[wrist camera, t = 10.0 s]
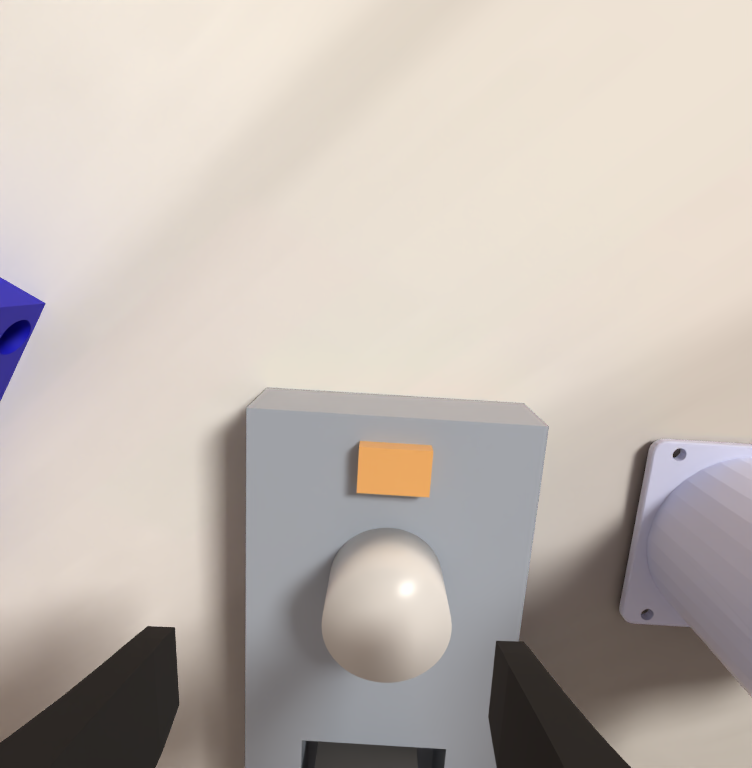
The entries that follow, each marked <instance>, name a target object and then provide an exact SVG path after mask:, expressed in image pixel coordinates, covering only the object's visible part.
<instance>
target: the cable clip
mask: <svg viewBox="0 0 752 768" xmlns="http://www.w3.org/2000/svg"><path fill="white" fill-rule="evenodd" d="M44 306H45V303H44V302H42V301H40V300H39V299H37V298H35V297H33V296H32V295H30V294H28V293H26V292H25V291H23V290H21V289H20V288H18V287H16V286H14V285H13V284H11V283H9V282H7V281H6V280H4V279H2V278H0V401H1V399H2V397H3V394H4V392H5V390H6V388H7V386H8V384H9V381H10V379H11V377H12V375H13V373H14V371H15V368H16V366H17V364H18V362H19V360H20V358H21V355H22V353H23V351H24V349H25V347H26V345H27V342H28V340H29V338H30V336H31V334H32V332H33V329H34V327H35V325H36V323H37V321H38V319H39V316H40V314H41V312H42V310H43V308H44Z"/></svg>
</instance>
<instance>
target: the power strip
mask: <svg viewBox="0 0 752 768" xmlns="http://www.w3.org/2000/svg"><path fill="white" fill-rule="evenodd" d="M548 429H549V426H548V425H547V424H546V423H545V422H544V421H542V420H541V419H540V418H539V417H538V416H537V415H536V414H535V413H534V412H533V411H532V410H530V409H529V408H528V407H527V406H526V405H525V404H524V403H509V402H493V401H477V400H460V399H444V398H428V397H411V396H395V395H379V394H363V393H346V392H330V391H314V390H297V389H281V388H266V389H265V390H264V391H263V392H262V393H261V394H260V395H259V396H258V397H257V398H256V399H255V400H254V401H253V402H252V403H251V404H250V405H249V406H248V407H247V408H246V639H245V768H315V761H316V754H317V746H318V741H321V742H338V743H354V744H370V745H386V746H403V747H417V761H418V768H497V766H496V761H495V755H494V750H493V744H492V737H491V731H490V725H489V719H488V714H489V705H490V695H491V685H492V676H493V666H494V656H495V647H496V641H518V642H519V636H520V629H521V621H522V614H523V607H524V600H525V593H526V586H527V579H528V572H529V565H530V557H531V550H532V543H533V536H534V529H535V522H536V515H537V508H538V501H539V493H540V486H541V479H542V472H543V465H544V458H545V451H546V444H547V436H548Z"/></svg>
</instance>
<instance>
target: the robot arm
mask: <svg viewBox="0 0 752 768" xmlns="http://www.w3.org/2000/svg"><path fill="white" fill-rule="evenodd" d="M679 448H680V451H681V452H680V454H679V455H678V456H677V457H673V452H674V451H675V450H676V449H679ZM645 609H648V611H647V612H646V613H644V614H641V613H642V611H644V610H645ZM619 612H620V614H621V615H622V617H623V618H624V620H625V621H627V622H628V623H632V624H648V625H664V626H680V627H691V628H692V629H693V630H694V632H695V633H696V634H697V635H698V636H699V637H700V638H701V640H702V641H703V642H704V643H705V644H706V645H707V647H708V648H709V649H710V650H711V651H712V652H713V653H714V655H715V656H716V657H717V658H718V659H719V660H720V661H721V663H722V664H723V665H724V666H725V667H726V668H727V669H728V671H729V672H730V673H731V674H732V675H733V676H734V678H735V679H736V680H737V681H738V682H739V683H740V684H741V686H742V687H743V688H744V689H745V690H746V691H747V692H748V694H749V695H750V696H751V697H752V444H743V443H727V442H711V441H694V440H678V439H658V440H656V441H654V442H653V443H652V445H651V446H650V448H649V452H648V457H647V462H646V468H645V473H644V478H643V484H642V489H641V494H640V500H639V505H638V510H637V516H636V521H635V526H634V532H633V537H632V542H631V548H630V553H629V558H628V564H627V569H626V574H625V580H624V585H623V590H622V596H621V601H620V606H619ZM178 706H179V692H178V675H177V657H176V640H175V627H152V626H148V627H146V628H145V629H144V630H143V631H141V632H140V633H139V634H138V635H136V636H135V637H134V638H133V639H132V640H130V641H129V642H128V643H127V644H126V645H124V646H123V647H122V648H121V649H120V650H118V651H117V652H116V653H115V654H114V655H112V656H111V657H110V658H109V659H108V660H106V661H105V662H104V663H103V664H102V665H100V666H99V667H98V668H97V669H96V670H94V671H93V672H92V673H91V674H89V675H88V676H87V677H86V678H84V679H83V680H82V681H81V682H80V683H78V684H77V685H76V686H75V687H73V688H72V689H71V690H70V691H68V692H67V693H66V694H65V695H63V696H62V697H61V698H60V699H58V700H57V701H56V702H54V703H53V704H52V705H50V706H49V707H48V708H46V709H45V710H44V711H42V712H41V713H40V714H38V715H37V716H36V717H34V718H33V719H32V720H30V721H29V722H28V723H26V724H25V725H24V726H22V727H21V728H20V729H18V730H17V731H16V732H15V733H13V734H12V735H10V736H9V737H8V738H6V739H5V740H3V741H2V742H1V743H0V768H155V767H156V765H157V763H158V760H159V758H160V756H161V754H162V751H163V748H164V746H165V743H166V740H167V738H168V735H169V732H170V729H171V726H172V724H173V721H174V718H175V715H176V712H177V709H178ZM488 719H489V725H490V731H491V737H492V744H493V750H494V755H495V761H496V766H497V768H631V767H630V766H629V765H628V764H627V763H626V762H625V761H624V760H623V759H622V758H621V757H620V755H619V754H618V753H617V752H616V751H615V750H614V749H613V748H612V747H611V746H610V745H609V744H608V743H607V741H606V740H605V739H604V738H603V737H602V736H601V735H600V734H599V733H598V731H597V730H596V729H595V728H594V727H593V726H592V725H591V723H590V722H589V721H588V720H587V719H586V718H585V716H584V715H583V714H582V713H581V712H580V711H579V709H578V708H577V707H576V706H575V705H574V704H573V702H572V701H571V700H570V699H569V698H568V696H567V695H566V694H565V693H564V692H563V690H562V689H561V688H560V687H559V685H558V684H557V683H556V682H555V680H554V679H553V678H552V677H551V675H550V674H549V673H548V672H547V670H546V669H545V668H544V667H543V665H542V664H541V663H540V662H539V660H538V659H537V658H536V656H535V655H534V654H533V653H532V651H531V650H530V649H529V648H528V646H527V645H526V644H525V643H524V642H518V641H496V647H495V656H494V666H493V676H492V685H491V695H490V705H489V714H488Z"/></svg>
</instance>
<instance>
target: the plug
mask: <svg viewBox="0 0 752 768" xmlns="http://www.w3.org/2000/svg"><path fill="white" fill-rule="evenodd" d="M315 768H418V761H417V747H403V746H386V745H370V744H354V743H338V742H321V741H318V746H317V754H316V761H315Z"/></svg>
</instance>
